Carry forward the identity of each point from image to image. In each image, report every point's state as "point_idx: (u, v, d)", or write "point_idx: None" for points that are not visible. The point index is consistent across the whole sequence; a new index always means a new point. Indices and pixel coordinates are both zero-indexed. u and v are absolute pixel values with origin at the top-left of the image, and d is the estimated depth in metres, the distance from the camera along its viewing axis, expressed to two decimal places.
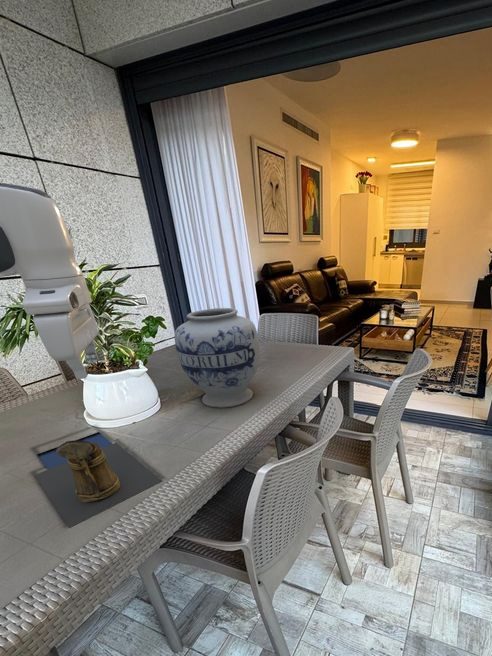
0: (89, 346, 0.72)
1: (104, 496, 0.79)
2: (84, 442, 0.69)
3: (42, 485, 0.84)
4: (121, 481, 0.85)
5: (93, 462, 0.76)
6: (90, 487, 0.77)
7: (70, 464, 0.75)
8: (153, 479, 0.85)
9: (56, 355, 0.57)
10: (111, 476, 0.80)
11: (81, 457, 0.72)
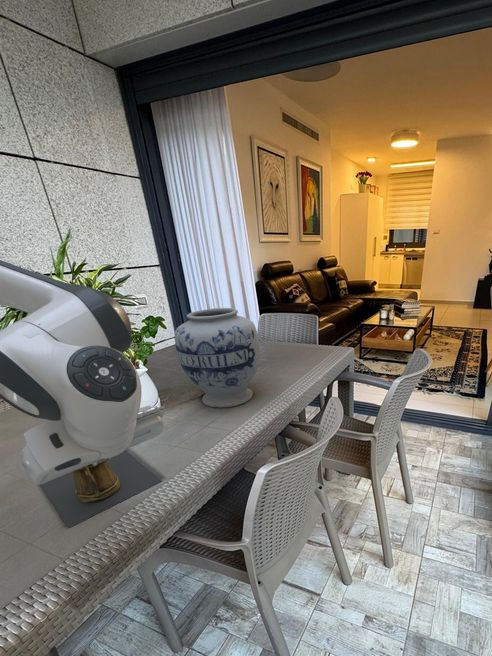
0: None
1: (104, 496, 0.79)
2: None
3: (42, 485, 0.84)
4: (121, 481, 0.85)
5: None
6: (90, 487, 0.77)
7: None
8: (153, 479, 0.85)
9: (26, 471, 0.52)
10: (111, 476, 0.80)
11: None
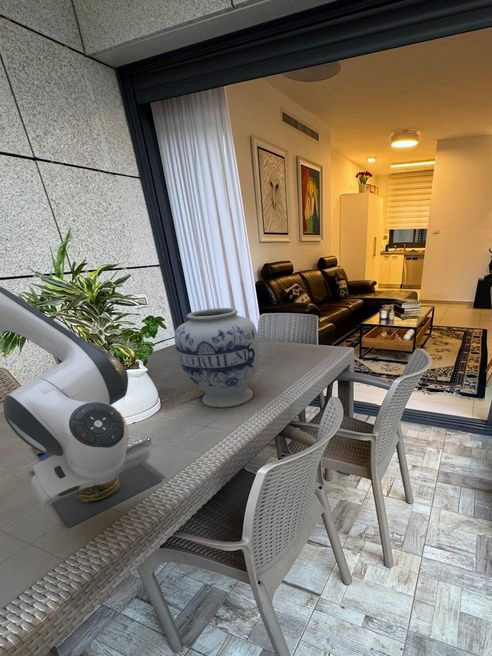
0: None
1: (104, 496, 0.79)
2: None
3: None
4: (121, 481, 0.85)
5: None
6: (90, 487, 0.77)
7: None
8: (153, 479, 0.85)
9: (34, 494, 0.63)
10: None
11: None
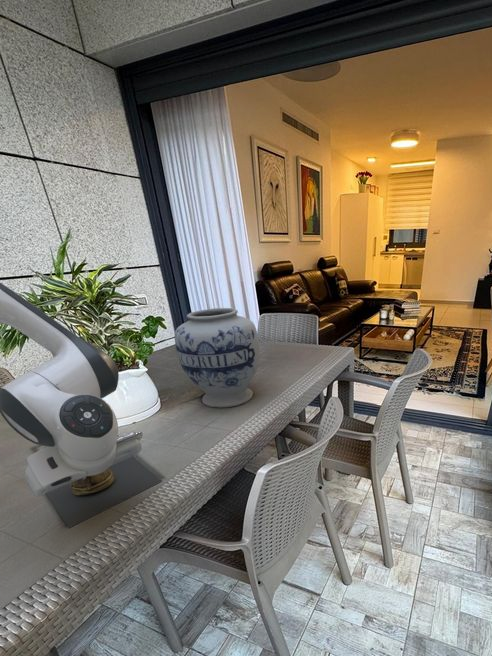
0: None
1: (95, 490, 0.80)
2: None
3: None
4: (121, 481, 0.85)
5: None
6: (82, 480, 0.79)
7: None
8: (153, 479, 0.85)
9: (28, 485, 0.66)
10: (104, 471, 0.82)
11: None
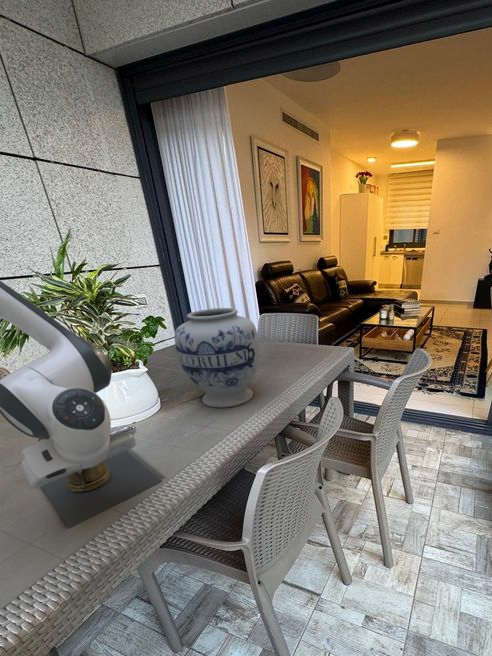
0: None
1: (89, 488, 0.81)
2: None
3: None
4: (121, 481, 0.85)
5: None
6: (77, 478, 0.80)
7: None
8: (153, 479, 0.85)
9: None
10: (99, 469, 0.83)
11: None
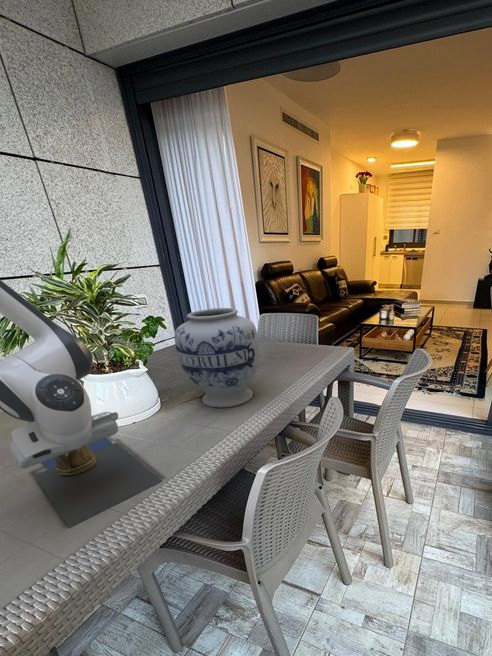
0: None
1: (75, 472, 0.87)
2: None
3: (42, 485, 0.84)
4: (121, 481, 0.85)
5: None
6: (63, 463, 0.86)
7: None
8: (153, 479, 0.85)
9: (14, 459, 0.74)
10: (85, 455, 0.88)
11: None
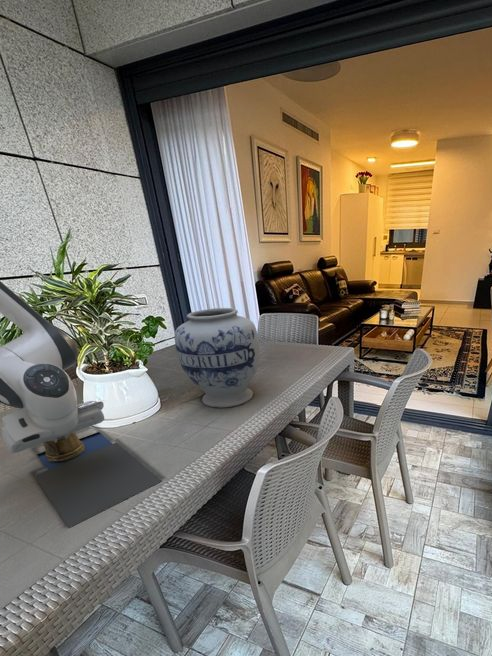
0: None
1: (63, 459, 0.93)
2: None
3: (42, 485, 0.84)
4: (121, 481, 0.85)
5: None
6: (52, 449, 0.92)
7: None
8: (153, 479, 0.85)
9: (5, 443, 0.79)
10: (72, 443, 0.94)
11: None
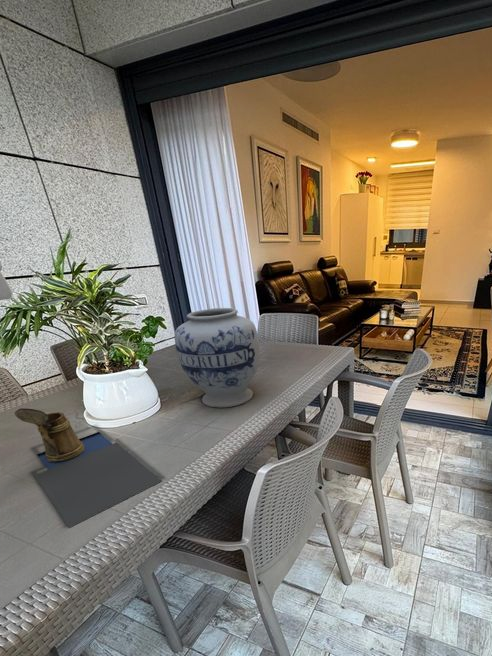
0: None
1: (63, 459, 0.93)
2: (36, 411, 0.82)
3: (42, 485, 0.84)
4: (121, 481, 0.85)
5: (54, 429, 0.90)
6: (52, 449, 0.92)
7: None
8: (153, 479, 0.85)
9: None
10: (72, 443, 0.94)
11: (39, 423, 0.86)
